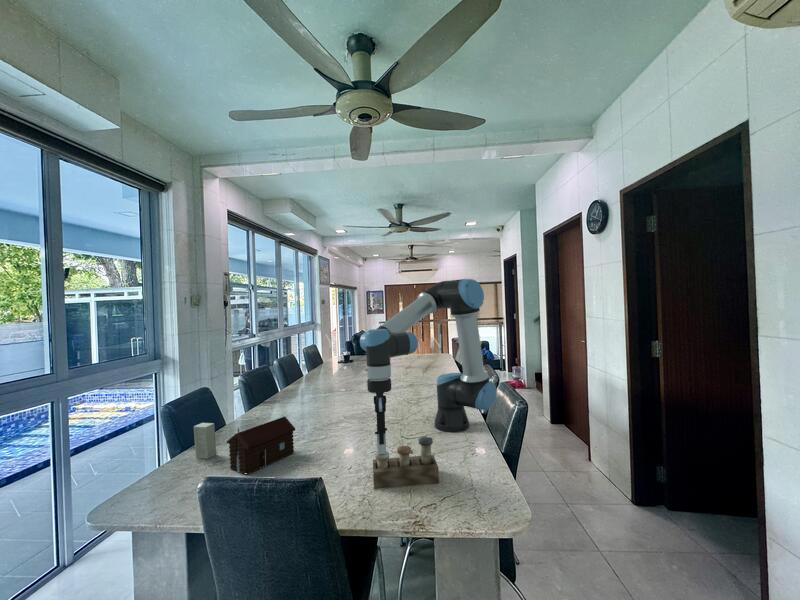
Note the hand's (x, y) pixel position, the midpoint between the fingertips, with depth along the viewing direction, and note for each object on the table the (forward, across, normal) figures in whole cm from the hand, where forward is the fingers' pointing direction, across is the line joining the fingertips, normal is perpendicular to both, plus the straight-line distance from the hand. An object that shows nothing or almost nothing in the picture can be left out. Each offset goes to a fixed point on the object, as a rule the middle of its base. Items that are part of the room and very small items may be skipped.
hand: (381, 453), depth 115 cm
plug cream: (+8, 0, 0) cm, 8 cm away
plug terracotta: (+7, 0, +7) cm, 10 cm away
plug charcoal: (+5, 0, +14) cm, 15 cm away
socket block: (+9, 0, +7) cm, 11 cm away
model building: (+9, -22, -43) cm, 49 cm away
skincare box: (+9, -30, -67) cm, 74 cm away
